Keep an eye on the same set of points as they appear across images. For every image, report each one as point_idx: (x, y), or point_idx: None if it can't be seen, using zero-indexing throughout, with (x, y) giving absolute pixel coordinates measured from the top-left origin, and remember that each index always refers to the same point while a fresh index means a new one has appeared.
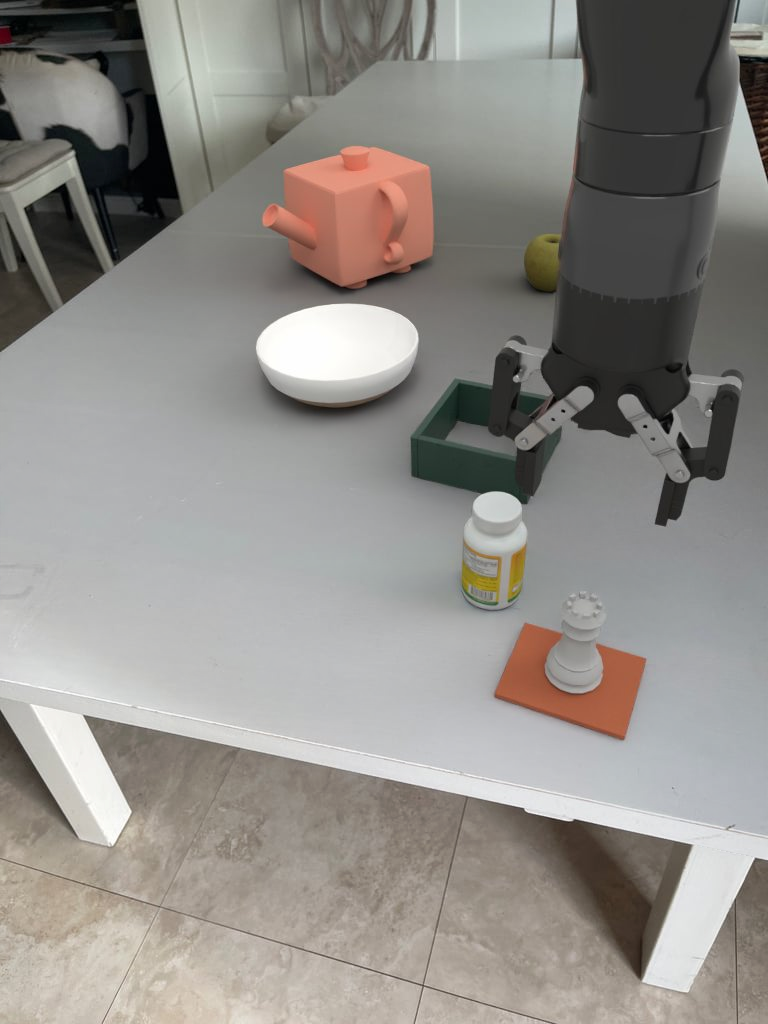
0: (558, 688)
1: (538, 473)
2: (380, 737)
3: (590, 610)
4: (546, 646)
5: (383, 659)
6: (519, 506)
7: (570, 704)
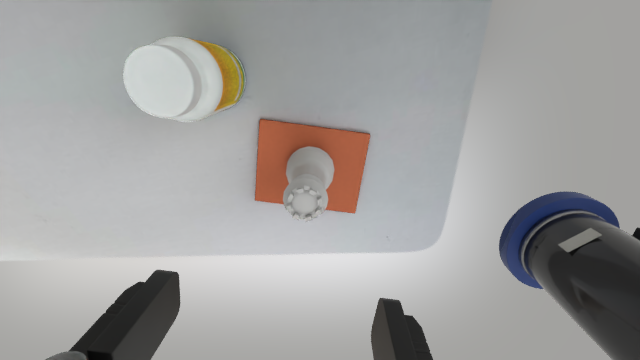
0: None
1: (161, 314)
2: (191, 247)
3: (311, 207)
4: (284, 144)
5: (160, 184)
6: (187, 75)
7: None
